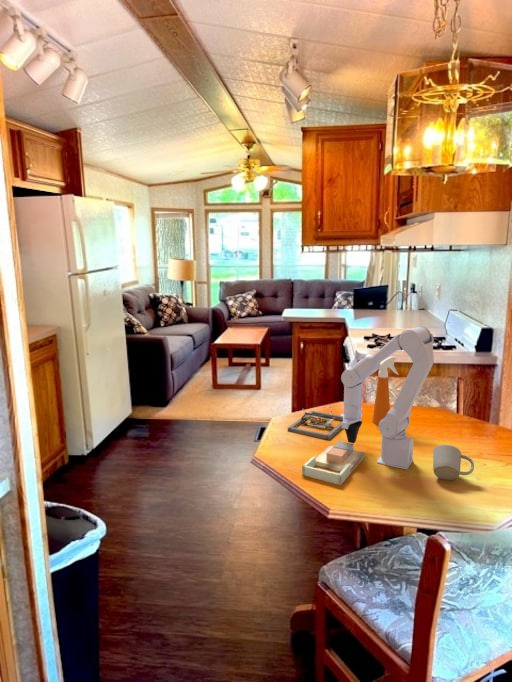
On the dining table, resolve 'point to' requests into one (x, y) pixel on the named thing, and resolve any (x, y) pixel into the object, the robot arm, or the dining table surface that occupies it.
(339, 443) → the tile slate
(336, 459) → the tile terracotta
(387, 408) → the spray bottle
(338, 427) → the gray open frame
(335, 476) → the tray
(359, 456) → the board
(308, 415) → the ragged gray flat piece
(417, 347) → the robot arm
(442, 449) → the ceramic mug
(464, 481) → the dining table surface
